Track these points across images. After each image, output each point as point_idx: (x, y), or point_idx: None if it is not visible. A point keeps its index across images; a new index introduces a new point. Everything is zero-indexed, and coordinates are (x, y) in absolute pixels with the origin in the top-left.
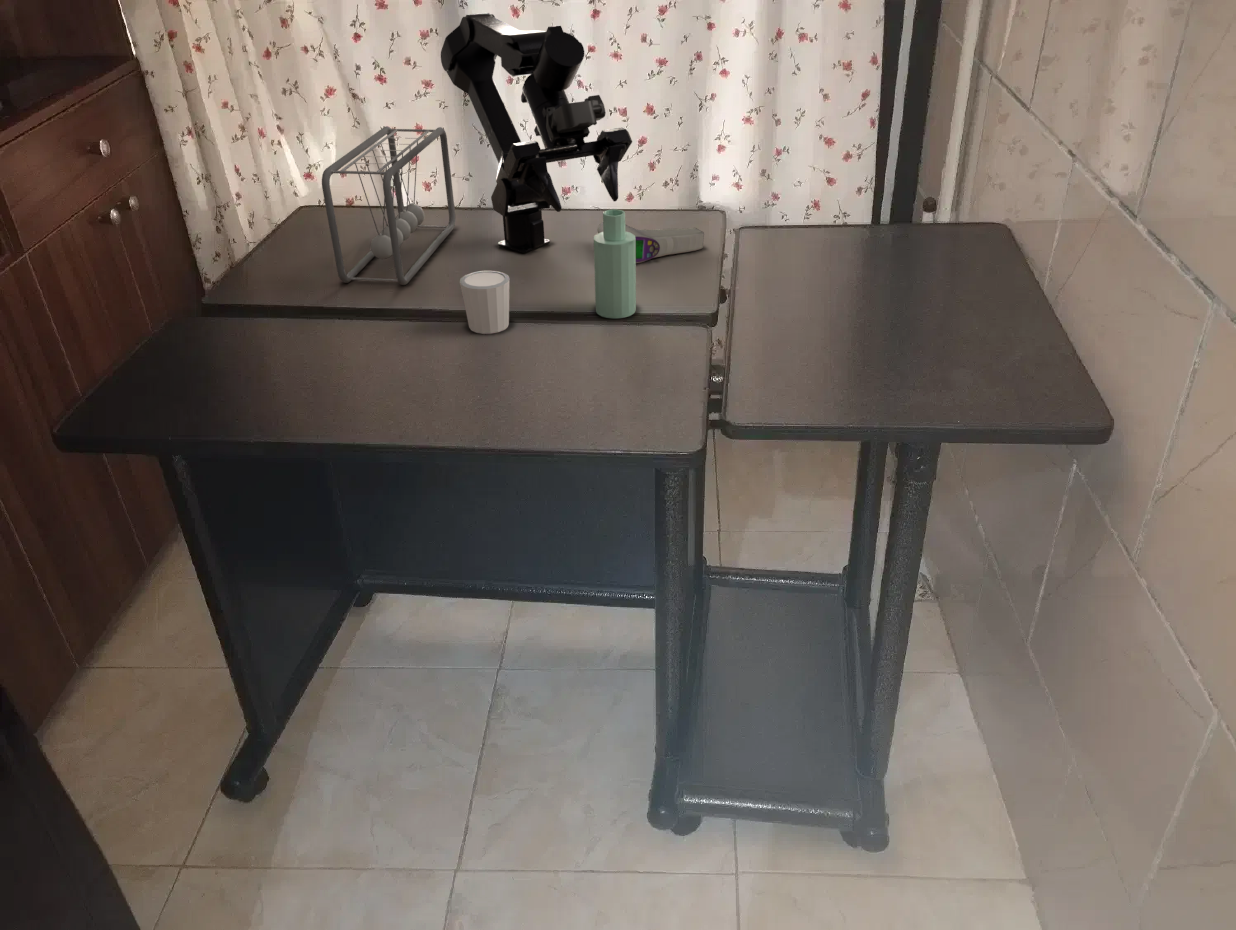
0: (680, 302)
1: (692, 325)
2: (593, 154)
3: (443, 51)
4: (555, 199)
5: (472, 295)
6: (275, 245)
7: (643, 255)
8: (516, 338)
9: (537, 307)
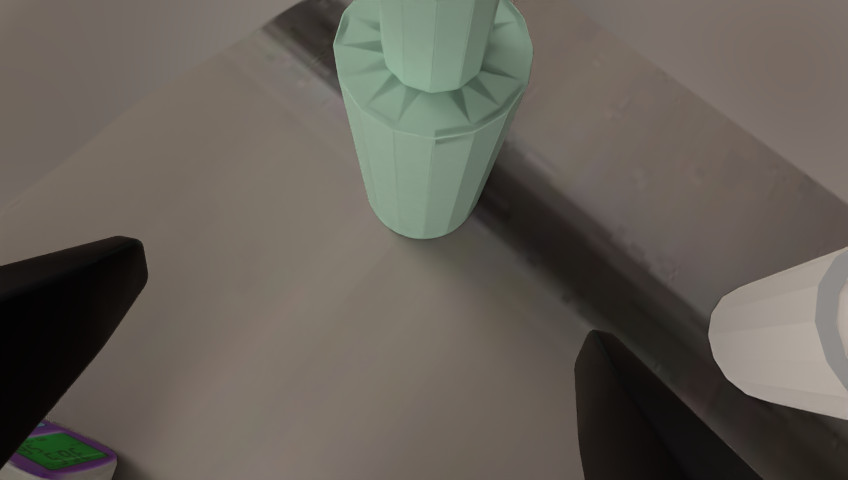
0: (254, 113)
1: (341, 5)
2: None
3: None
4: (648, 375)
5: None
6: None
7: (50, 432)
8: (732, 223)
9: None
